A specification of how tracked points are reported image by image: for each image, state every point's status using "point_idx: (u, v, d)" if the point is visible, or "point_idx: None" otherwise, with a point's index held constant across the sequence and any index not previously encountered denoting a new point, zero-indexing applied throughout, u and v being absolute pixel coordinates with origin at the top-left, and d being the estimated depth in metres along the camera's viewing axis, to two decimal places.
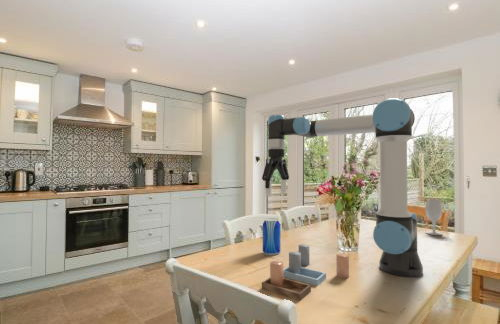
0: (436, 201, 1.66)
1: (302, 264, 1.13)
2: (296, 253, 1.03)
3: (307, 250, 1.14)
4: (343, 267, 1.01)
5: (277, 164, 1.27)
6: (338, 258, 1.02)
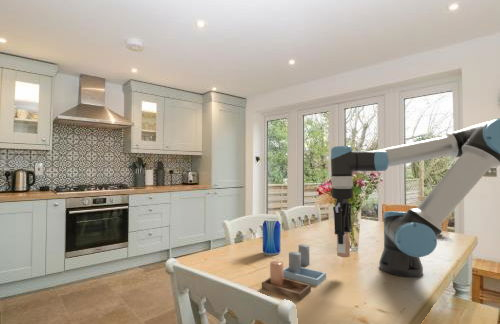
0: None
1: (302, 264, 1.13)
2: (296, 253, 1.03)
3: (307, 250, 1.14)
4: None
5: (346, 208, 1.01)
6: None
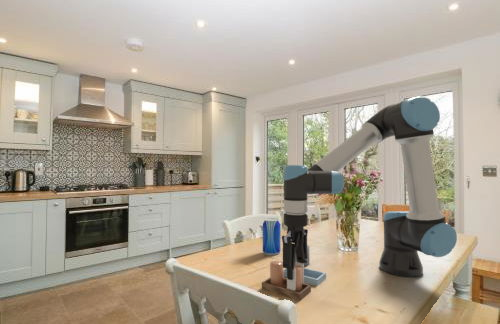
0: None
1: None
2: None
3: (307, 250, 1.14)
4: None
5: (298, 238, 0.87)
6: None
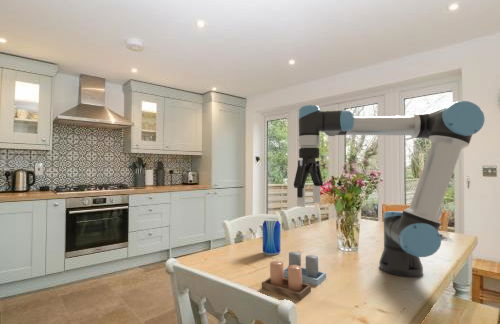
0: None
1: None
2: (296, 253, 1.03)
3: (316, 262, 0.98)
4: (293, 281, 0.87)
5: (311, 167, 1.01)
6: (288, 270, 0.88)
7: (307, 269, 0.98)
